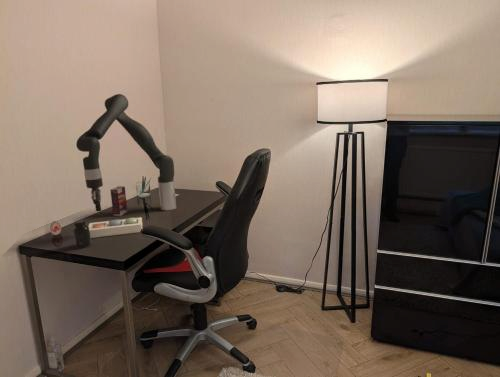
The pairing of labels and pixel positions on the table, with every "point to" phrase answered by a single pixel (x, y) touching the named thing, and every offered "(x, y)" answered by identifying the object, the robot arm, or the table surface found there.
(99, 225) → the button terracotta
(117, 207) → the supplement box
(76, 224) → the supplement bottle
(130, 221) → the button sage
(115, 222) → the button slate
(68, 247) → the table surface
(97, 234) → the button box
